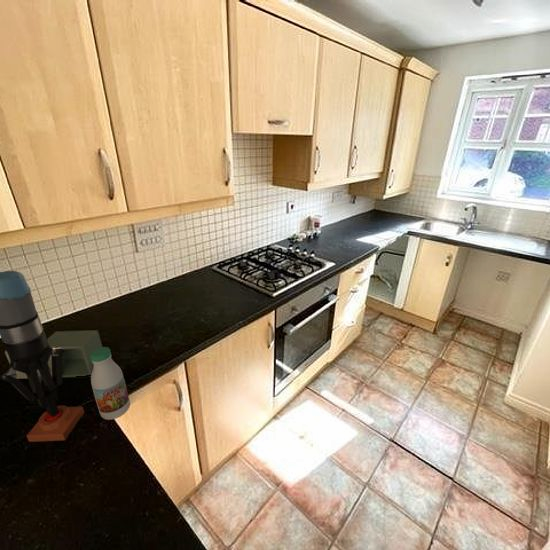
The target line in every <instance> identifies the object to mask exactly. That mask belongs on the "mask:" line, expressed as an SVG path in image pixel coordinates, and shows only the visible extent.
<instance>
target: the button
mask: <svg viewBox="0 0 550 550" xmlns="http://www.w3.org/2000/svg"><path fill="white" fill-rule="evenodd" d="M58 411H59V413H58V414H57V415H55V416H54V417H53V416H51V415H50V414H48V413H47V414H46V415H45V419H46V421H47V422H52V421H54V420H57V419H58V418H59V417H61V416H62V414H63V413H62V410H61V409H59V408H58Z"/></svg>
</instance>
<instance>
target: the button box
mask: <svg viewBox="0 0 550 550" xmlns="http://www.w3.org/2000/svg"><path fill="white" fill-rule="evenodd" d="M57 408H59V409H61V410H62V413H63V414H62V416H61V417H59V418H58V419H57V420H54V421H52V422H47V421H46V419H45V415H46V414H47V411H44V412H43V413H42V414H41V416H40V417H38V421H37V422H36V423H35V425H34V426H33V427H32V428H31V429H30V431H28V433H27V434H26V438H27V441H28V442H29V443H31V442H33V443H34V442H35V443H36V442H55V441H56V442H57V441H66V440H67V438H68V437H69V436H70V434H71V432H72V431H73V430H74V428H75V427H76V425H77V424H78V423H79V421H80V420H81V419H82V417H83V415H84V414H85V410H84V407H83V406H66V405H57Z"/></svg>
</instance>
